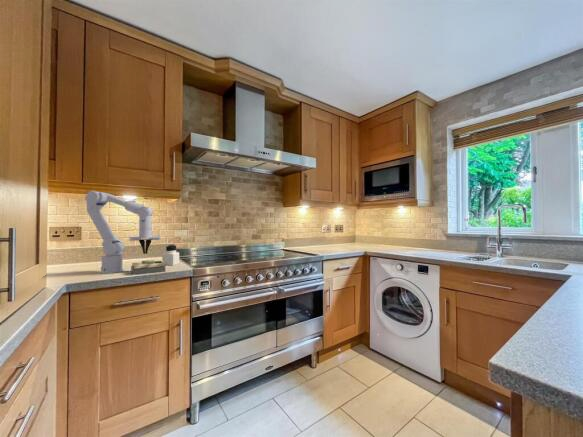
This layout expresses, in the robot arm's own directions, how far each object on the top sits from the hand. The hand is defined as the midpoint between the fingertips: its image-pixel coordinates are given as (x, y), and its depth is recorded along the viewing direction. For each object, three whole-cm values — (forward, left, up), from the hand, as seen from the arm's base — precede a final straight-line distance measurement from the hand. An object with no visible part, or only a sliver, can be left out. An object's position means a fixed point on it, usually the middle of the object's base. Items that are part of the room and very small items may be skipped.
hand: (145, 253), depth 140 cm
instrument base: (+1, -1, -9) cm, 10 cm away
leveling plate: (+1, -1, -6) cm, 7 cm away
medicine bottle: (+15, +14, -10) cm, 23 cm away
